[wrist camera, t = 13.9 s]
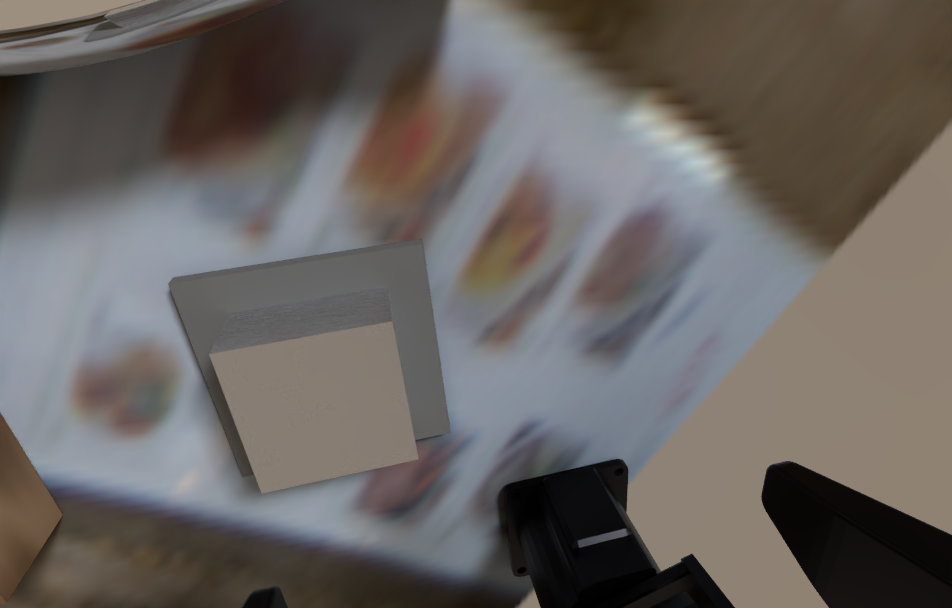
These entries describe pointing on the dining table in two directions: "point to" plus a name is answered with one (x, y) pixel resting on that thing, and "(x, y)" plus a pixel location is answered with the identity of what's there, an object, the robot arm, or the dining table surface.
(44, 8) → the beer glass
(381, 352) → the square block
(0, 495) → the plane body
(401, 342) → the mat
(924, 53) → the dining table surface
